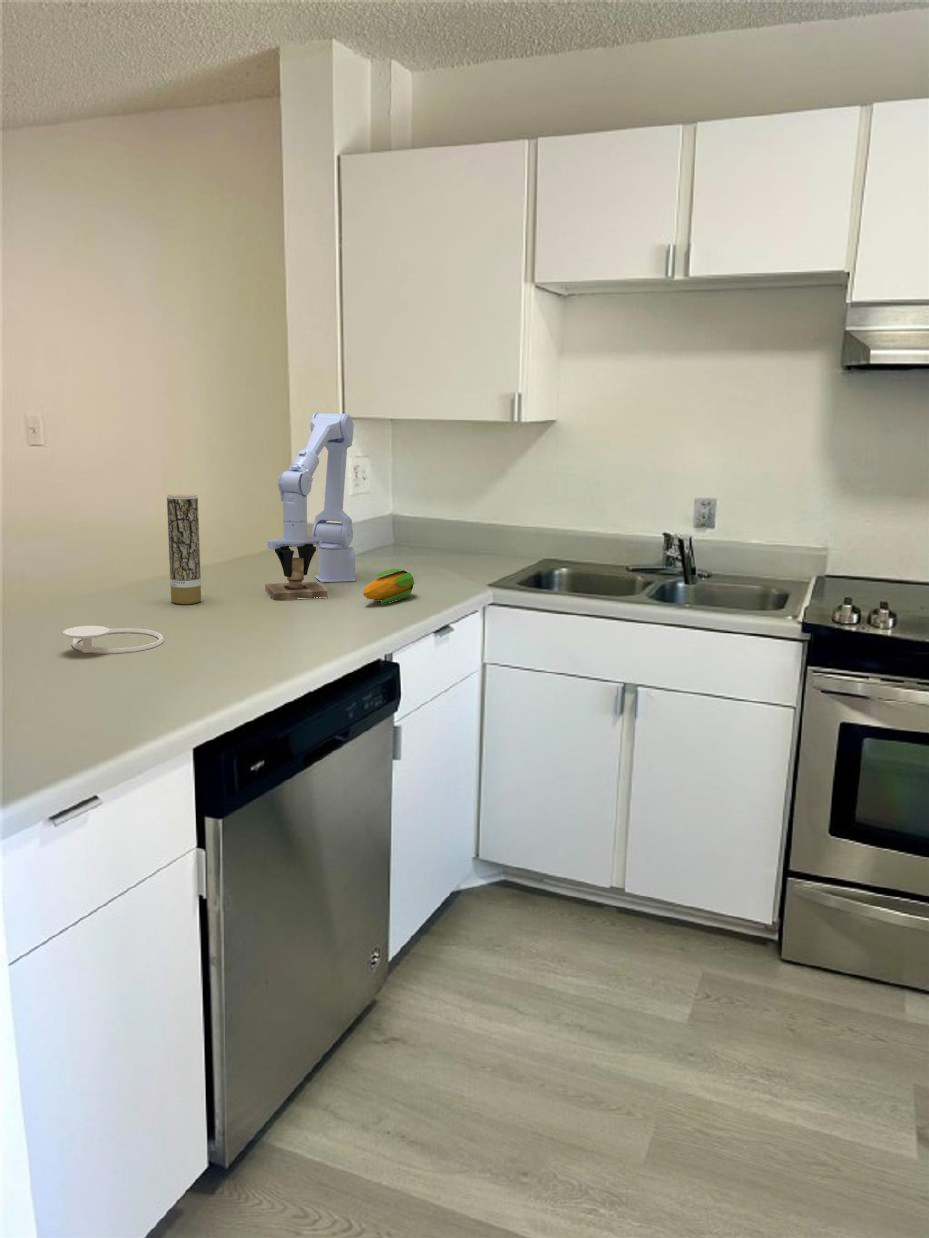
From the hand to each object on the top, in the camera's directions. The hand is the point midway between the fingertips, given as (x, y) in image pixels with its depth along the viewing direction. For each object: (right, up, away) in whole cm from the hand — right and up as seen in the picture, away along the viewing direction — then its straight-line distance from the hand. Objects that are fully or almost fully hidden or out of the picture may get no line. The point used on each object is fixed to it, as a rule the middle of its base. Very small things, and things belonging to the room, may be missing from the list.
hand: (295, 575), depth 226 cm
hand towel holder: (-26, -16, -50) cm, 59 cm away
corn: (+23, -7, -2) cm, 24 cm away
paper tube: (-24, -7, -11) cm, 27 cm away
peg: (0, -3, +1) cm, 3 cm away
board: (0, -5, +1) cm, 5 cm away
